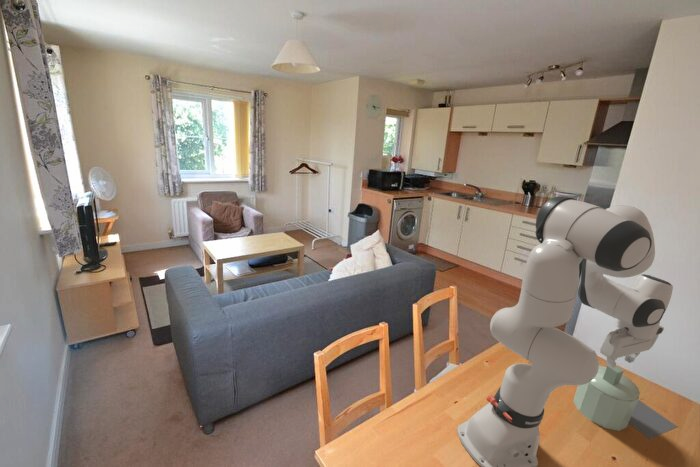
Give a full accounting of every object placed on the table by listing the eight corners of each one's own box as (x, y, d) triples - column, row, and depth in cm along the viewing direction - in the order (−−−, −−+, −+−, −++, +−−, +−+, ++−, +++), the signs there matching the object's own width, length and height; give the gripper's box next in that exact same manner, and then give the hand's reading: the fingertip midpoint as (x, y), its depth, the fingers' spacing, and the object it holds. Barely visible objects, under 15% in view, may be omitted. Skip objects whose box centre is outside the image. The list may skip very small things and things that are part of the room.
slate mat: (649, 440, 97) (650, 439, 97) (598, 401, 110) (599, 400, 110) (677, 427, 103) (677, 426, 102) (625, 392, 116) (626, 391, 116)
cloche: (607, 436, 97) (626, 391, 91) (563, 400, 110) (577, 358, 104) (636, 423, 102) (656, 379, 96) (591, 389, 115) (606, 349, 109)
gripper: (626, 337, 89) (609, 376, 93) (667, 327, 96) (649, 365, 101) (602, 324, 95) (587, 362, 99) (643, 316, 102) (627, 352, 106)
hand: (619, 363), depth 100 cm, fingers open, 8 cm apart
